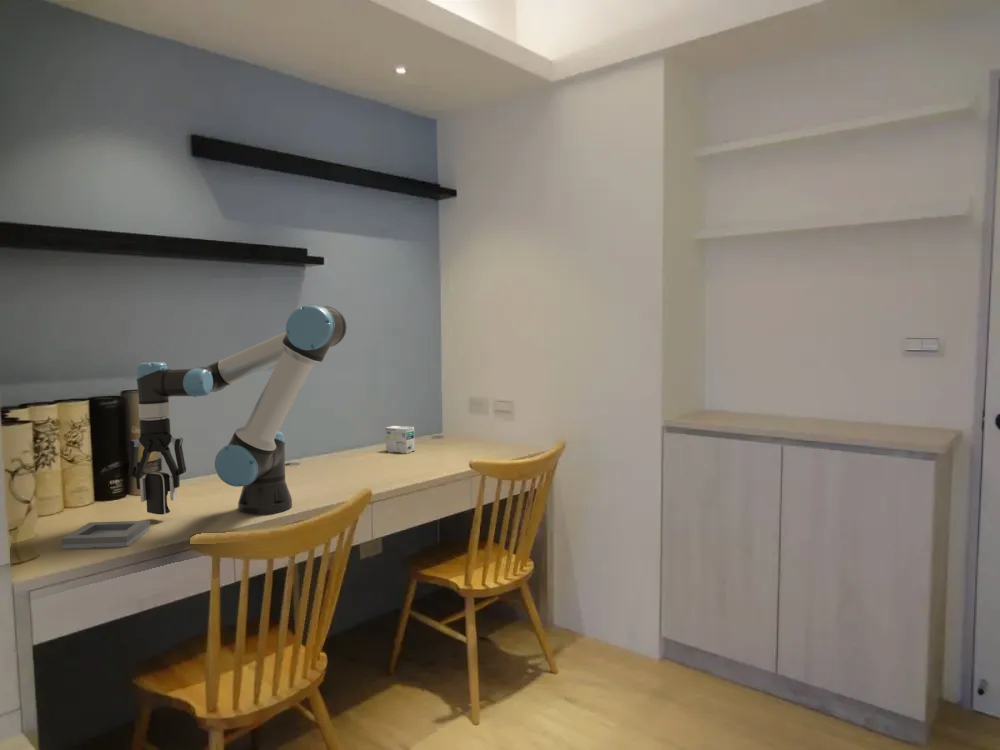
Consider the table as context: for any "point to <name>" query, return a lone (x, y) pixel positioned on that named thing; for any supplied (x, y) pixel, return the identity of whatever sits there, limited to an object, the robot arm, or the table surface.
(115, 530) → the dock
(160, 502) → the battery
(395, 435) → the light bulb box
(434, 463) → the table surface
